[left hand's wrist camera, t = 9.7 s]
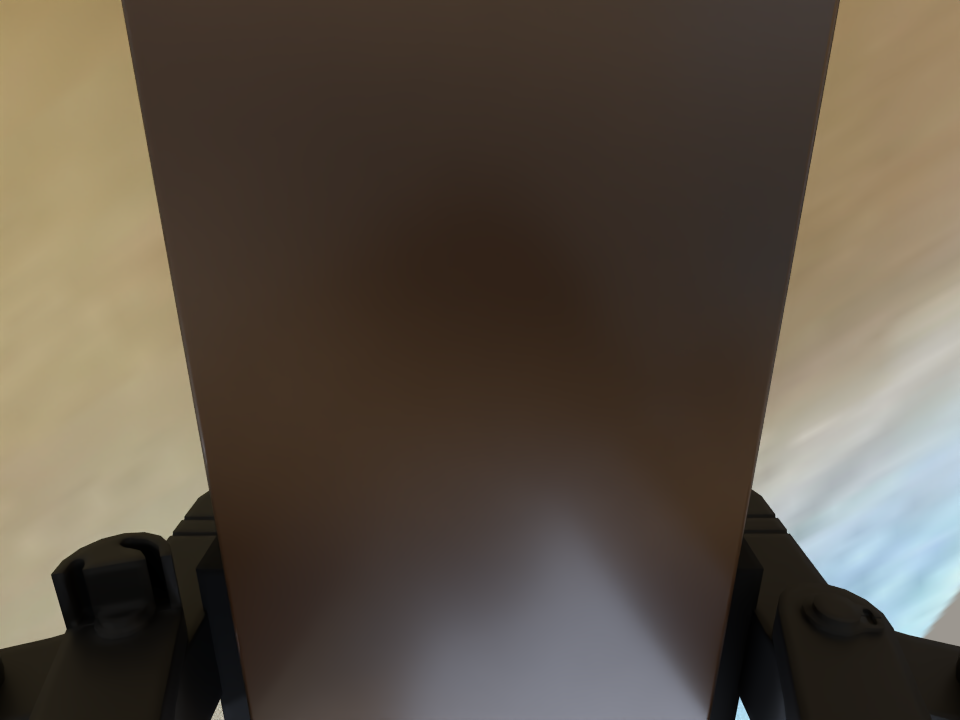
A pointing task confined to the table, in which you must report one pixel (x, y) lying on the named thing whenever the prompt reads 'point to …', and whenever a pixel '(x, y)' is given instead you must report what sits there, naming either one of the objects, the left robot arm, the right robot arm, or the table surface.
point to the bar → (480, 333)
